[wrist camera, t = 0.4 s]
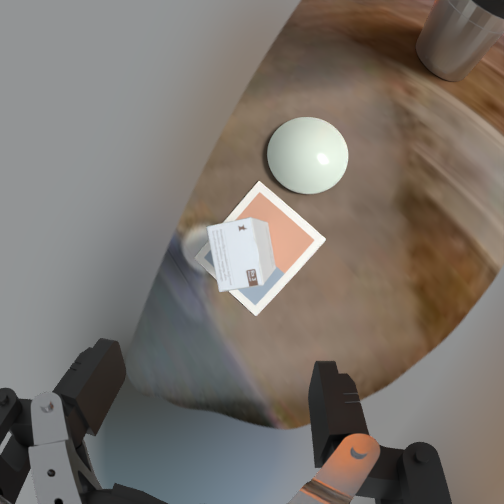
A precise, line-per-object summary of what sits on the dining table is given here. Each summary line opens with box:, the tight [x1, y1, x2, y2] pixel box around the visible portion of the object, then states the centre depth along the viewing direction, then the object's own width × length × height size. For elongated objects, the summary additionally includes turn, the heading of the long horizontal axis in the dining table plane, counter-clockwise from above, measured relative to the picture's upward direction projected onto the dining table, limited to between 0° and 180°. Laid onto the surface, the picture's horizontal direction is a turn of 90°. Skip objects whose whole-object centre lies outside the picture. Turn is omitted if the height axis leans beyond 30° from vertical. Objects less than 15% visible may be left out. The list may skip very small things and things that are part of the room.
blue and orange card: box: [194, 181, 326, 316], centre depth 37 cm, size 13×11×1 cm
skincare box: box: [207, 217, 276, 292], centre depth 31 cm, size 6×4×12 cm
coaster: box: [267, 117, 348, 194], centre depth 35 cm, size 10×10×1 cm
